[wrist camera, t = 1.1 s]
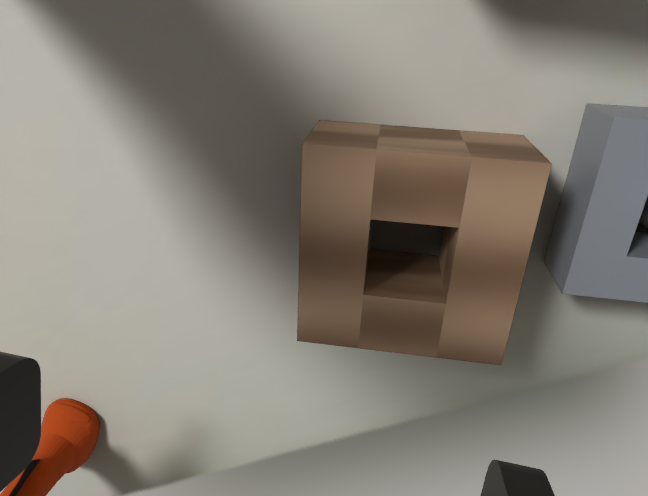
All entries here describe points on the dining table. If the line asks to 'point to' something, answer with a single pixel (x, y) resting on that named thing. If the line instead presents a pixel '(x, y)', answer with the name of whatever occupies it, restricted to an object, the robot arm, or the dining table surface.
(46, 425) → the toy drill
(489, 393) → the dining table surface
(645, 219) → the bar
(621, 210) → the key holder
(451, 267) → the block
